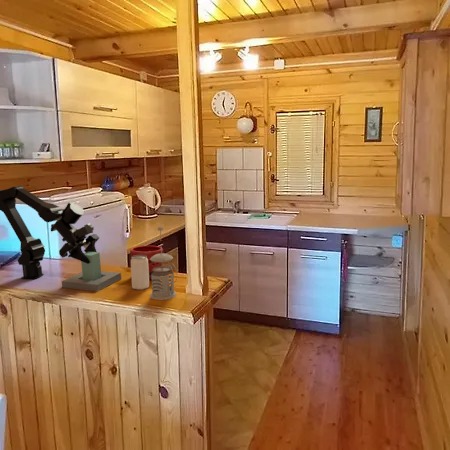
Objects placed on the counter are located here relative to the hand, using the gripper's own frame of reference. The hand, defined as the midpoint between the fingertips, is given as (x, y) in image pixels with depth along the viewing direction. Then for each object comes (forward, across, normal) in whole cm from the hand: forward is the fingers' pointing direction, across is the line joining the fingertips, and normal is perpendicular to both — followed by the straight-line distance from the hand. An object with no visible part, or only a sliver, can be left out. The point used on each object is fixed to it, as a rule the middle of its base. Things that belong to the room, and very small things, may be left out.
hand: (93, 261), depth 172 cm
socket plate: (+5, 0, +7) cm, 9 cm away
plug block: (+6, 0, +7) cm, 9 cm away
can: (+20, +1, -8) cm, 22 cm away
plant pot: (+18, +14, -4) cm, 23 cm away
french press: (+30, -5, -17) cm, 35 cm away
